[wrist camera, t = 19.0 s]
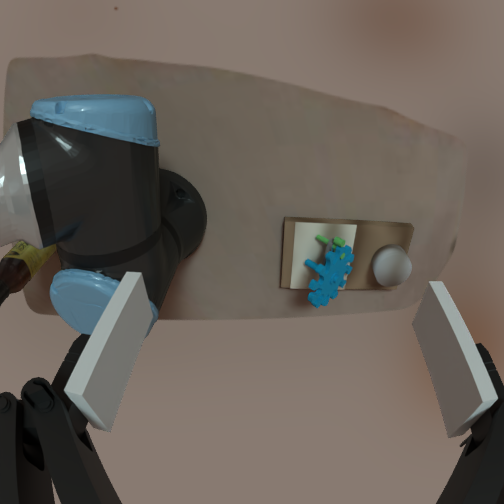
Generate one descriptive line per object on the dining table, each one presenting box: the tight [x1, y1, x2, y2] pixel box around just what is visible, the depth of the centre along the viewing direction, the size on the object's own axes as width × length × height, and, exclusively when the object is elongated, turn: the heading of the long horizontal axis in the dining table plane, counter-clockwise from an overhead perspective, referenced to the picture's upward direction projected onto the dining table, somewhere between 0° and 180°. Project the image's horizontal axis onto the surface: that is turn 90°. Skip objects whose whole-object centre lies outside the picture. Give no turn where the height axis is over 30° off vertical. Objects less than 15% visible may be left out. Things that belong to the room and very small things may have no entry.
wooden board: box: [281, 217, 414, 290], centre depth 48 cm, size 20×12×4 cm, turn 90°
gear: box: [305, 234, 354, 308], centre depth 47 cm, size 11×6×10 cm
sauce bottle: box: [0, 241, 57, 306], centre depth 44 cm, size 6×6×20 cm
